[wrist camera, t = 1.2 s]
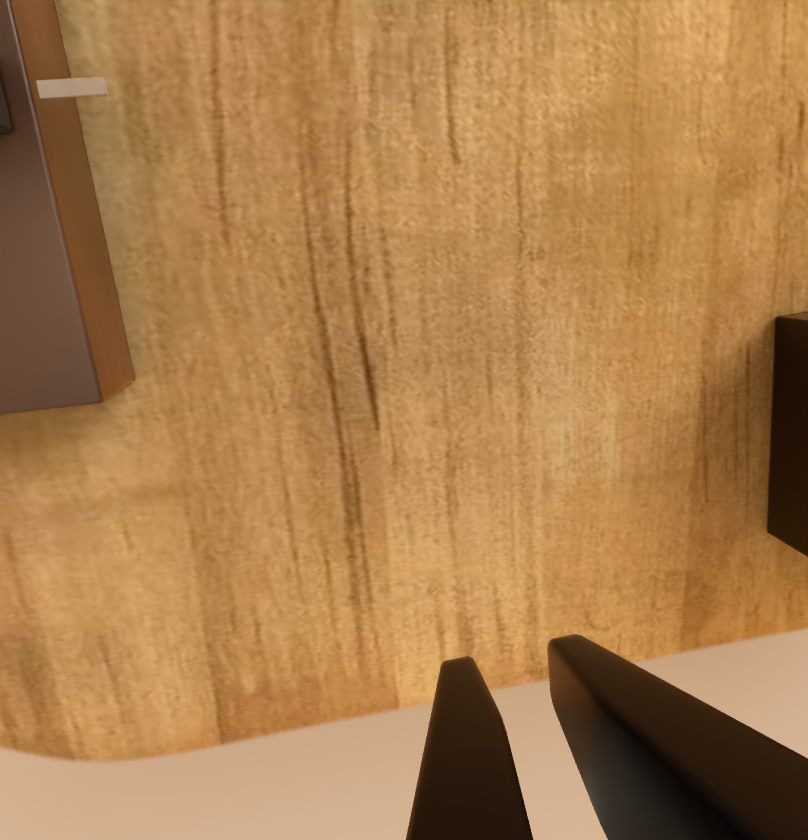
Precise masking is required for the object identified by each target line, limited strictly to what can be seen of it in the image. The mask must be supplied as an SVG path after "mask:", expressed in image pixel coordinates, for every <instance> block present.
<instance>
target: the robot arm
mask: <svg viewBox="0 0 808 840" xmlns="http://www.w3.org/2000/svg"><path fill="white" fill-rule="evenodd" d="M547 650H548V665H549V679H550V692H551V698H552V702H553V706H554V709H555V712H556V714H557V717H558V719H559V722H560V724H561V727H562V729H563V732H564V734H565V737H566V739H567V742H568V744H569V747H570V749H571V752H572V755H573V757H574V759H575V762H576V765H577V767H578V770H579V772H580V774H581V777H582V780H583V782H584V785H585V787H586V790H587V792H588V795H589V797H590V800H591V802H592V805H593V807H594V810H595V812H596V814H597V817H598V819H599V822H600V824H601V826H602V828H603V830H604V832H605V834H606V837H607V838H608V840H808V759H807V758H806V757H804V756H802V755H800V754H798V753H797V752H795V751H793V750H791V749H789V748H787V747H786V746H784V745H781V744H780V743H778V742H776V741H774V740H773V739H771V738H769V737H767V736H765V735H763V734H762V733H760V732H758V731H756V730H754V729H752V728H751V727H749V726H747V725H745V724H743V723H741V722H739V721H737V720H736V719H734V718H732V717H730V716H728V715H726V714H725V713H723V712H721V711H719V710H717V709H716V708H714V707H712V706H710V705H708V704H706V703H705V702H703V701H701V700H699V699H697V698H695V697H693V696H692V695H690V694H688V693H686V692H684V691H682V690H680V689H679V688H677V687H675V686H673V685H671V684H669V683H668V682H666V681H664V680H662V679H660V678H658V677H656V676H655V675H653V674H651V673H649V672H647V671H645V670H644V669H642V668H640V667H638V666H636V665H635V664H633V663H631V662H629V661H627V660H625V659H624V658H622V657H620V656H618V655H616V654H614V653H612V652H611V651H609V650H607V649H605V648H603V647H601V646H600V645H598V644H596V643H594V642H592V641H590V640H589V639H587V638H585V637H583V636H581V635H577V634H574V635H569V636H564V637H559V638H554V639H551V640H550V642H549V643H548V648H547ZM406 840H533V837H532V833H531V829H530V824H529V820H528V817H527V812H526V809H525V805H524V800H523V797H522V793H521V789H520V785H519V780H518V777H517V772H516V768H515V764H514V760H513V756H512V752H511V749H510V744H509V740H508V736H507V733H506V729H505V726H504V723H503V720H502V717H501V715H500V712H499V710H498V708H497V706H496V704H495V702H494V700H493V698H492V695H491V693H490V691H489V689H488V687H487V685H486V683H485V681H484V679H483V677H482V675H481V673H480V671H479V669H478V667H477V665H476V663H475V661H474V659H473V658H471V657H469V656H466V657H461V658H456V659H451V660H446V661H444V662H443V663H442V665H441V668H440V673H439V678H438V683H437V688H436V693H435V698H434V703H433V708H432V713H431V718H430V722H429V728H428V732H427V737H426V742H425V747H424V752H423V757H422V762H421V767H420V772H419V777H418V782H417V787H416V792H415V797H414V802H413V807H412V812H411V817H410V822H409V827H408V832H407V837H406Z"/></svg>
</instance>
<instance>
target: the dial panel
mask: <svg viewBox="0 0 808 840" xmlns="http://www.w3.org/2000/svg"><path fill="white" fill-rule="evenodd" d="M0 81H1V85H2V89H3V93H4V97H5V101H6V105H7V109H8V114H9V118H10V122H11V126H12V131H11V132H9V133H0V415H5V414H14V413H22V412H30V411H39V410H47V409H56V408H64V407H73V406H81V405H90V404H98V403H102V402H104V401H105V400H106V399H108V398H109V397H111V396H112V395H114V394H115V393H117V392H118V391H119V390H121V389H122V388H124V387H125V386H127V385H128V384H130V383H131V382H132V381H134V380H135V375H134V370H133V366H132V361H131V356H130V352H129V347H128V342H127V338H126V333H125V329H124V324H123V319H122V315H121V310H120V305H119V301H118V296H117V291H116V287H115V282H114V278H113V273H112V268H111V264H110V259H109V254H108V250H107V245H106V240H105V236H104V231H103V227H102V222H101V217H100V213H99V208H98V203H97V199H96V194H95V189H94V185H93V180H92V175H91V171H90V166H89V162H88V157H87V152H86V148H85V143H84V138H83V134H82V129H81V124H80V120H79V115H78V111H77V106H76V101H75V98H86V97H102V96H109V93H108V88H107V83H106V79H105V78H104V77H103V76H101V77H85V78H70V73H69V69H68V64H67V59H66V55H65V50H64V46H63V41H62V36H61V32H60V27H59V22H58V18H57V13H56V8H55V4H54V0H0Z"/></svg>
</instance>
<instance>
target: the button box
mask: <svg viewBox="0 0 808 840" xmlns="http://www.w3.org/2000/svg"><path fill="white" fill-rule="evenodd" d="M768 533H770V534H771V535H773V536H774V537H776V538H778V539H779V540H781V541H783V542H784V543H786V544H788V545H789V546H791V547H793V548H794V549H796V550H798V551H799V552H801V553H802V554H804V555H806V556H807V557H808V312H803V313H797V314H790V315H784V316H778V317H777V318H776V341H775V366H774V391H773V416H772V441H771V466H770V491H769V516H768Z"/></svg>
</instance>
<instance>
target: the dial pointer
mask: <svg viewBox="0 0 808 840" xmlns="http://www.w3.org/2000/svg"><path fill="white" fill-rule="evenodd" d="M11 131H12V126H11V122H10V118H9V114H8V109H7V105H6V101H5V97H4V93H3V89H2V85H1V81H0V133H9V132H11Z"/></svg>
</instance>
